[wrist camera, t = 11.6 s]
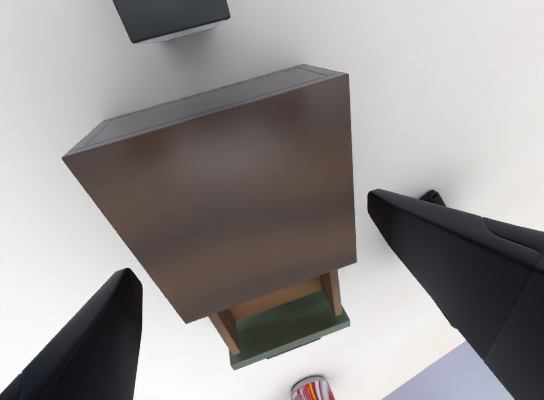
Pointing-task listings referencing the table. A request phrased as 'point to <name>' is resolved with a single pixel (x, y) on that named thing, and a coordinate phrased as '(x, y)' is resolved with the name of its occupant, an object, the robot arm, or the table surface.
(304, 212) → the cabinet
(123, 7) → the tall dark grey box
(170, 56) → the table surface
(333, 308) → the drawer
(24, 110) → the table surface
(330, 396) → the soda can
